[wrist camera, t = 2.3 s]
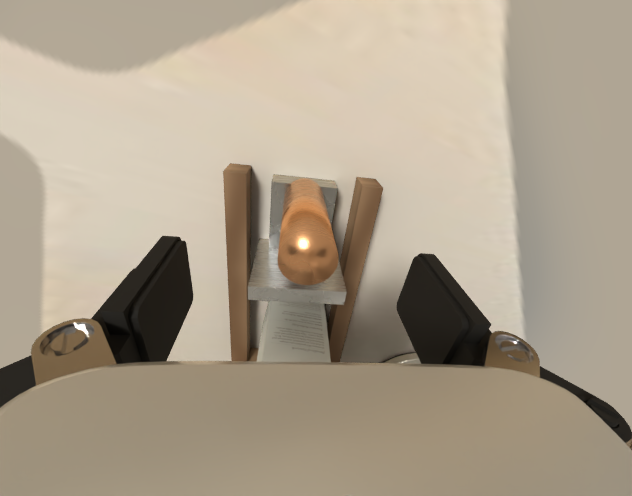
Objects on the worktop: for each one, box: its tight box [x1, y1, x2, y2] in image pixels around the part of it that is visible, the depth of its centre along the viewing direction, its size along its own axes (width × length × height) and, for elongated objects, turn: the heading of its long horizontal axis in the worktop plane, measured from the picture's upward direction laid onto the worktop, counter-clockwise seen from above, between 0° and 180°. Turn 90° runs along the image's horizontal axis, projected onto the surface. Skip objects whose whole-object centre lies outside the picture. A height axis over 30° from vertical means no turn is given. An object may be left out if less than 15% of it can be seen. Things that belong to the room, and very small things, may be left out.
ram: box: [248, 174, 347, 305], centre depth 19 cm, size 7×8×11 cm
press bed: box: [223, 163, 383, 362], centre depth 25 cm, size 12×24×8 cm, turn 173°
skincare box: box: [257, 301, 331, 362], centre depth 24 cm, size 8×6×15 cm
